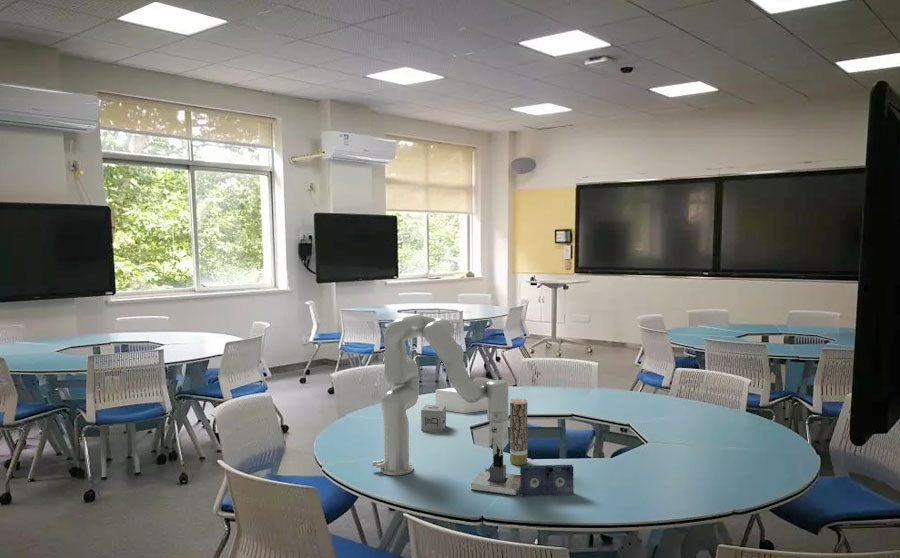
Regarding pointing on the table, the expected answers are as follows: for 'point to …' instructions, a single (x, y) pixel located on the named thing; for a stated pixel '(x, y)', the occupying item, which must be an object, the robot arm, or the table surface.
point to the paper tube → (518, 431)
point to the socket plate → (496, 484)
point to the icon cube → (433, 418)
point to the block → (458, 401)
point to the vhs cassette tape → (546, 480)
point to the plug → (497, 473)
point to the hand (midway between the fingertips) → (498, 465)
